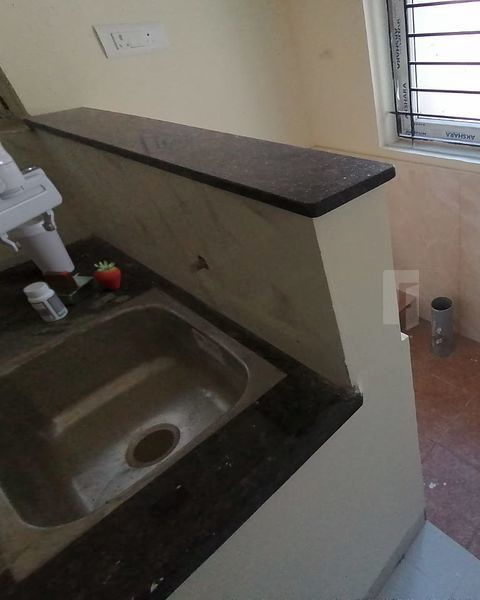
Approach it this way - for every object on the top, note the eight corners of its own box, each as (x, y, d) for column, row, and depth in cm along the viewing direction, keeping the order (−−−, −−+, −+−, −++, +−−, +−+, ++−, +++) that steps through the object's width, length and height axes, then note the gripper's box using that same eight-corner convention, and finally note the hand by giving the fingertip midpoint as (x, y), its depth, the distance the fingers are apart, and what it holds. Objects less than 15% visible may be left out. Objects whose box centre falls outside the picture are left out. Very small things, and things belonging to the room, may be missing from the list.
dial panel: (34, 306, 93) (26, 296, 91) (66, 282, 101) (60, 272, 99) (73, 308, 92) (66, 297, 91) (103, 283, 101) (97, 273, 99)
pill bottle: (66, 307, 93) (45, 278, 88) (70, 316, 90) (49, 286, 85) (42, 316, 90) (19, 286, 85) (45, 325, 88) (22, 295, 82)
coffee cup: (85, 270, 106) (54, 220, 97) (43, 285, 101) (6, 233, 91) (76, 258, 111) (45, 209, 102) (35, 272, 106) (-1, 222, 97)
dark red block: (49, 286, 95) (40, 273, 92) (54, 282, 96) (46, 270, 94) (72, 287, 94) (63, 274, 92) (77, 283, 95) (69, 270, 93)
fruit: (131, 287, 99) (117, 260, 94) (109, 297, 96) (93, 270, 91) (122, 281, 101) (107, 254, 97) (100, 290, 98) (84, 264, 93)
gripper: (24, 162, 86) (58, 219, 95) (-73, 198, 70) (-21, 263, 79) (50, 162, 86) (82, 219, 94) (-41, 199, 70) (7, 264, 78)
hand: (34, 239), depth 86 cm, fingers open, 8 cm apart
